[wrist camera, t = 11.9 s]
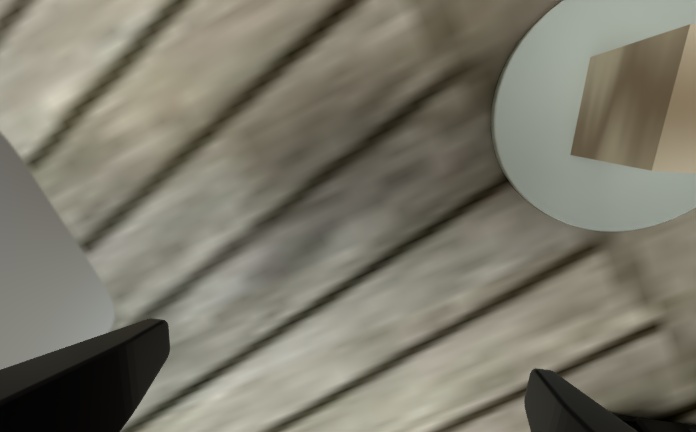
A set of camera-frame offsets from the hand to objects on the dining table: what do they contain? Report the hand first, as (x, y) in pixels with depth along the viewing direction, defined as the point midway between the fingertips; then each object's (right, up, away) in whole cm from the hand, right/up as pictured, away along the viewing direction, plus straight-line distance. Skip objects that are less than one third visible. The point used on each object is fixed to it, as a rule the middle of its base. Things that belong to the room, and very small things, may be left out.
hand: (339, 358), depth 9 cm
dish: (+14, +9, +9) cm, 19 cm away
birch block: (+14, +8, +8) cm, 18 cm away
